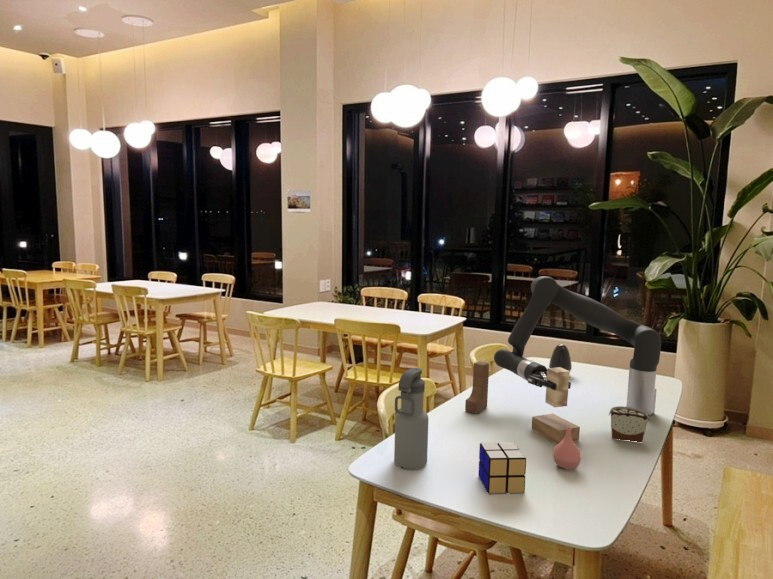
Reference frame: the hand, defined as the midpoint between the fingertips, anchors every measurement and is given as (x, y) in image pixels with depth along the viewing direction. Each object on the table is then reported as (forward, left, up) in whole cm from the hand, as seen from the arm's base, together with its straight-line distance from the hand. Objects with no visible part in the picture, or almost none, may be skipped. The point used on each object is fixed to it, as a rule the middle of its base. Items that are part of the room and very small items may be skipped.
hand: (562, 386), depth 169 cm
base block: (0, -3, -18) cm, 18 cm away
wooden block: (+14, -32, -18) cm, 39 cm away
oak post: (0, -3, -7) cm, 7 cm away
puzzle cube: (+36, +21, -18) cm, 46 cm away
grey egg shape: (-48, -62, -18) cm, 80 cm away
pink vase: (+12, +18, -18) cm, 28 cm away
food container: (-22, +6, -18) cm, 29 cm away
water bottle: (+55, +2, -18) cm, 58 cm away
